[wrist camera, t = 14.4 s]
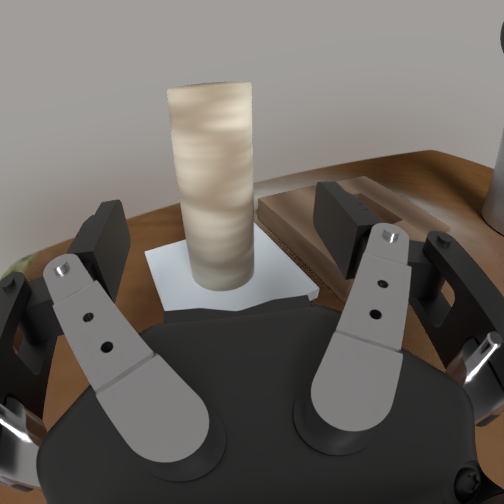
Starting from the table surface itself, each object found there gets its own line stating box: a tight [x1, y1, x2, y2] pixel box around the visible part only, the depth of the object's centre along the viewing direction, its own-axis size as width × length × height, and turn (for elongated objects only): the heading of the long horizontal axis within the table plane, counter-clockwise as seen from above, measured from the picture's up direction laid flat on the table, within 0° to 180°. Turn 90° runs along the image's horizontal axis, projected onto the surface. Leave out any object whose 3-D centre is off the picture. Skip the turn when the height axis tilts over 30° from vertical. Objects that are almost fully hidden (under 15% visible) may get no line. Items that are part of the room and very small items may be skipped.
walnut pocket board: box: [258, 176, 451, 302], centre depth 29 cm, size 16×14×2 cm
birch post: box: [167, 82, 254, 291], centre depth 19 cm, size 5×5×14 cm
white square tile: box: [145, 223, 319, 311], centre depth 24 cm, size 11×11×1 cm
